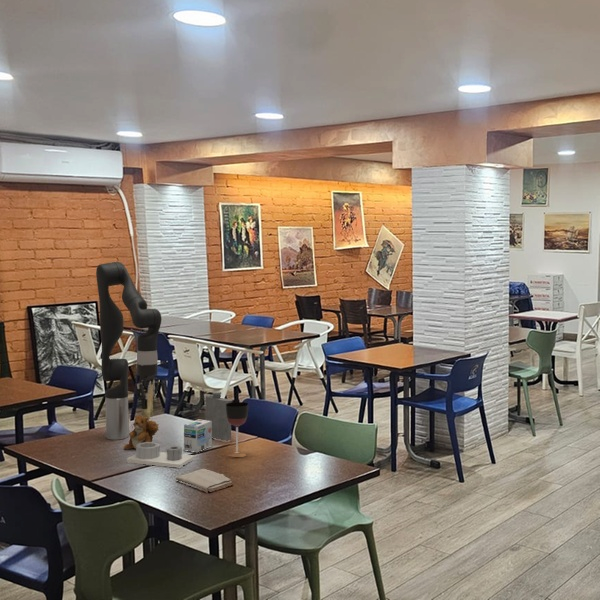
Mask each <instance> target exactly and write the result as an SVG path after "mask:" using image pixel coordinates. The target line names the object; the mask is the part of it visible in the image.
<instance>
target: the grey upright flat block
mask: <svg viewBox="0 0 600 600" xmlns="http://www.w3.org/2000/svg"><path fill="white" fill-rule="evenodd" d="M221 396H222V391H213V392H212V394H205V420H207V421H212V437H213V438H216V439H221V440H226V441H228V440H231V441H232V424H230V423H229V422H228V419H227V414H226V404H227V403H232V399H229V398H225V397H221Z"/></svg>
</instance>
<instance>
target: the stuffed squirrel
mask: <svg viewBox="0 0 600 600" xmlns="http://www.w3.org/2000/svg"><path fill="white" fill-rule="evenodd" d="M130 427H131V429H133V427H134V429H133V430H131V432H130V431H129V435H128V437H129V440H128V443H127V444H125V445H124V446H122V447H123V449H124V450H132V449H135V450H136V445H137V444H139V443H144V442H153V438H154V437H153V436H155V435H156V433H157V432H158V431H159V428H160V427H159V424H158V423H156V421H154V420H151V417H142V415H137V414H136V415H134V422H133V423H132V424H131V425H130Z"/></svg>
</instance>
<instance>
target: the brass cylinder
mask: <svg viewBox="0 0 600 600" xmlns="http://www.w3.org/2000/svg"><path fill="white" fill-rule="evenodd" d="M144 391H146V390H144ZM144 395H145V393H144ZM141 416H142V417H146V418H147V417H150V418H152V417H153V416H154V406H153V384H151V385H150V390H149V393H148V397H147V409H142V408H141Z"/></svg>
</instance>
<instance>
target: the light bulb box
mask: <svg viewBox="0 0 600 600" xmlns="http://www.w3.org/2000/svg"><path fill="white" fill-rule="evenodd" d="M212 443H213V439H212V421H207V420H206V419H199V418H198V419H196V420H193V421H190V422H188V423H187V422H186V423H184V424H183V451H184V450H188V451H194V452H199V451H201V450H203V449H205V448H207V447H209V446H211V445H212V446H213V444H212ZM201 452H202V451H201ZM199 453H200V452H199Z"/></svg>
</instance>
